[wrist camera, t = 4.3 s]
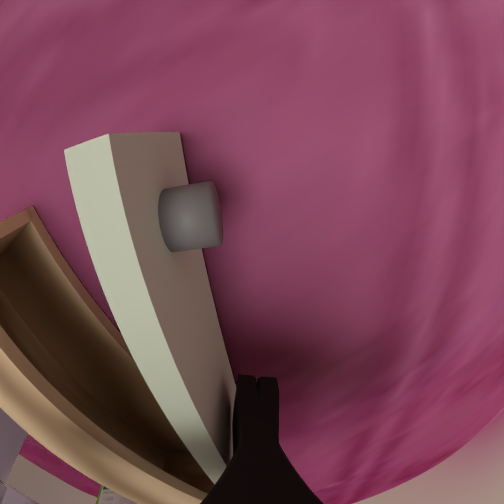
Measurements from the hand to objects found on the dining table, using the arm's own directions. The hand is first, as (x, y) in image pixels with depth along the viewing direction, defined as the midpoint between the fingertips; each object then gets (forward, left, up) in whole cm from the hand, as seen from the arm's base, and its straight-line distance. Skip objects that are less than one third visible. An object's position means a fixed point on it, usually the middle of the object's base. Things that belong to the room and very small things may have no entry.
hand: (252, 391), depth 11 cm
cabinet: (-8, +2, -2) cm, 9 cm away
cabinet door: (0, +1, -2) cm, 2 cm away
